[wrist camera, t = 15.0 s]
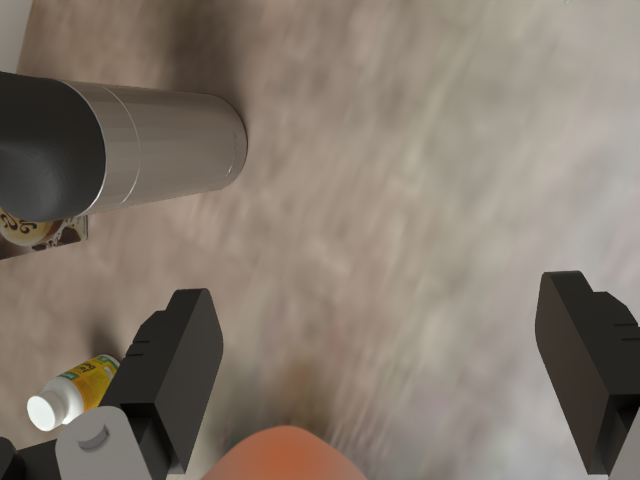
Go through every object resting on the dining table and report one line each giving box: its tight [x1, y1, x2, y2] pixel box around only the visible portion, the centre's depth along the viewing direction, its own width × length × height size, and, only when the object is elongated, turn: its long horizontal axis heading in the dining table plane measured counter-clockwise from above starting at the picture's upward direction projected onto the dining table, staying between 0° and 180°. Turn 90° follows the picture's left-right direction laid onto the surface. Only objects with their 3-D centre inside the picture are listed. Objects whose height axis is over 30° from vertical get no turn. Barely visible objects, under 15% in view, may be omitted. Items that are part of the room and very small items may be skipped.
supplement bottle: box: [27, 355, 120, 431], centre depth 58 cm, size 5×5×10 cm
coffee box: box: [0, 207, 87, 260], centre depth 52 cm, size 9×6×16 cm
